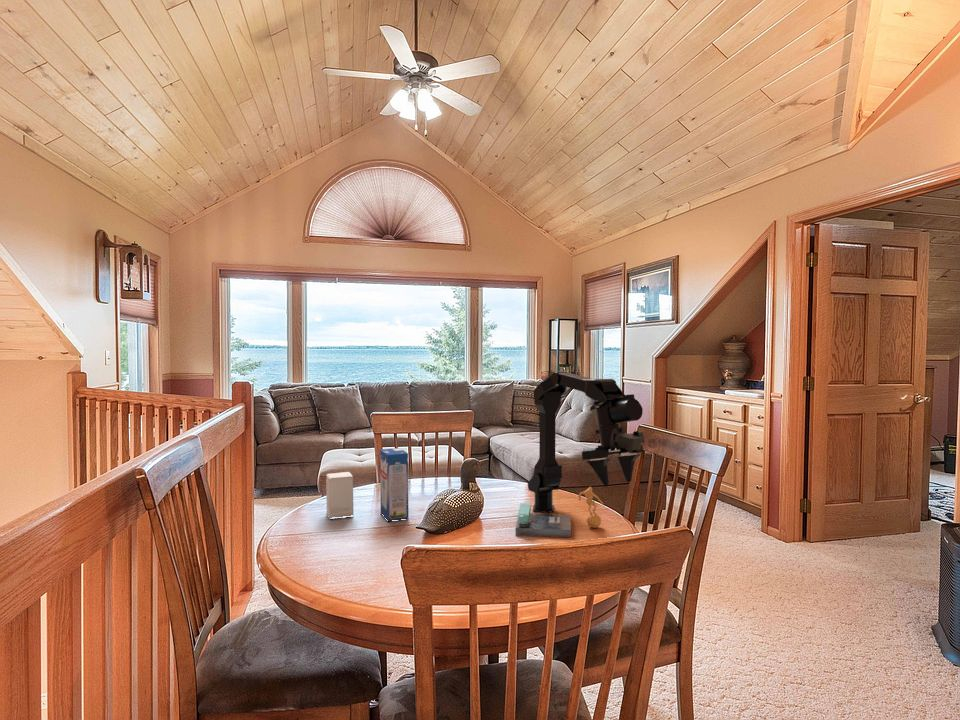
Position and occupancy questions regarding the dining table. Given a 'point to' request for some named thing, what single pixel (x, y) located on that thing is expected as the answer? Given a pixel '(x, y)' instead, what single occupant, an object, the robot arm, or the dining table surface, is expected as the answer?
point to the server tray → (546, 525)
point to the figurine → (593, 518)
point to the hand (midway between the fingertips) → (618, 484)
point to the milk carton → (394, 483)
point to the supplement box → (339, 494)
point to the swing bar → (524, 513)
